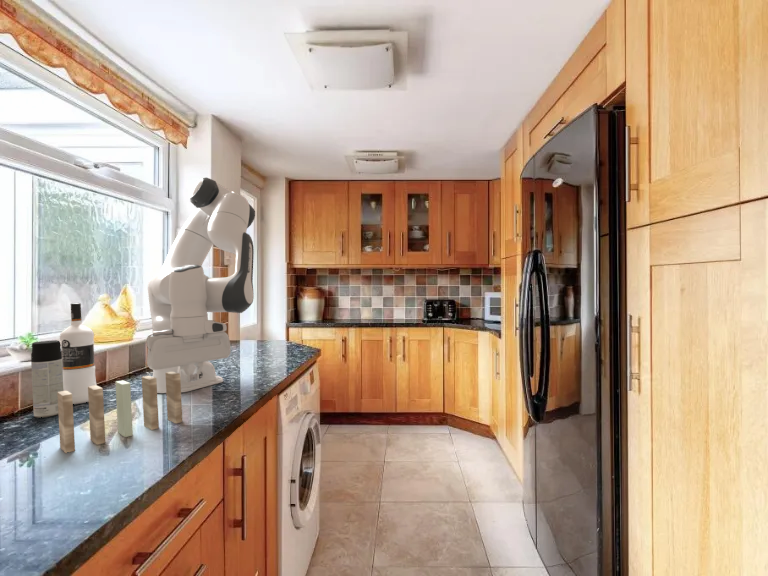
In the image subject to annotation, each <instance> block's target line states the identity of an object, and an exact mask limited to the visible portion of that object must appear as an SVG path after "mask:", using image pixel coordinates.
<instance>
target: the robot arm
mask: <svg viewBox="0 0 768 576" xmlns="http://www.w3.org/2000/svg"><path fill="white" fill-rule="evenodd" d="M188 197H189V202H190V203H191V204H192V205H193V206H194V207H195V208H196V209H195V210H194V211H193V212H192V213H191V214H190V215H189V217H188V218H187V220H186V221H185V222H184V224H183V226H182V227H181V229H180V231H179V232H178V234H177V236H176V237H175V240H174V241H173V243H172V244H171V247H170V248H169V251H168V254H167V256H166V259H165V260H164V263H163V265H162V266H161V269H160V270H159V273H156V274H155V275H153V276H152V277H151V278H150V279H149V281H148V284H147V293H148V301H149V302H148V303H149V304H148V305H149V311H150V317H151V324H152V326H151V328H152V330H151V331H152V333H150V334H149V335H147V337H146V347H147V356H146V358H147V359H146V365H147V367H148V368H149V369H150V370H152V377H154V378H156V380H157V394H166V374H165V373H166V372H175V373H179V374H180V380H181V393H187V392H191V391H194V390H198V389H201V388H205V387H210V386H213V385H217V384H221V383H223V382H224V378H223V377H222V376H219V375H217V373H216V369H215V366H214V364H213V363H211V362H210V361H215V360H223V359H227V358H229V356H230V355H231V351H232V350H231V342H230V336H229V334H228V333H227V323H224V322H219V321H215V320H210V319H209V318H208V313H234V314H235V313H237V314H242V313H244V312H245V311H246V310H247V309H249V308H250V307H251V305H252V304H253V302H254V299H255V298H254V297H255V296H254V295H255V294H254V284H253V276H254V255H255V253H254V252H255V251H254V243H253V242H254V241H253V238H252V237H251V235H250V234H249V233H247V229H249V228H250V226H251V225H252V224H253V222H254V220H255V218H256V211H255V208H253V206H252V205H251V204H250V203H249V202H248V200H247V198H246V197H245V196H243V195H242V194H241V193H240V194H239V193H237V192H234V191H232V190H230V189H228V188H226V187H225V186H223V185H221V184H219V183H217V182H216V180H214V179H213V178H209V177H201V178H199V179H198V180H196V182H194V184H193V185H192V186H191V188H190V192H189V196H188ZM213 245H214V246H215V247H216V248H218V249H219V250H221V251H223V252H226V253H230V254H233V255H235V264H234V273H233V274H232V275H230V276H227V277H225V276H224V277H209V276H208V275H206V274H205V271H204V268H203V264H204V262H205V259H206V258H207V256H208V254H209V252H210V250H211V248H212V246H213Z"/></svg>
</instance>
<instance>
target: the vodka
mask: <svg viewBox="0 0 768 576" xmlns="http://www.w3.org/2000/svg"><path fill="white" fill-rule="evenodd" d="M70 317H71V319H70V321H71V322H70V324H71V325H69V326H68V327H66V328H65V329H64V330H62V331H61V332H60V335H59V339H60V340H59V342H60V345H61V346H60V347H61V351H62V368H63V390H64V391H66V390H67V391H68V392H70V393H71V394H72V400H73V404H74V405H79V404H80V405H81V404H87V403H89V399H88V386H94V385H97V380H96V379H97V378H96V364H95V347H94V344H95V339H94V338H95V337H94V336H95V335H94V334H95V332H94V331H93V329H92V328H90V327H88V326H87V325H84V324H83V322H82V304H81V303H80V302H72V303H70ZM86 402H87V403H86Z"/></svg>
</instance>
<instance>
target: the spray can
mask: <svg viewBox="0 0 768 576" xmlns="http://www.w3.org/2000/svg"><path fill="white" fill-rule="evenodd" d="M30 358H31V359H30V361H31V382H32V383H31V386H32V404H33V405H32V406H33V410H32V411H33V416H34V418H41V417H42V418H48V417H53V416H57V415H58V396H57V392H61V391H64V390H63V368H62V351H61V341H60V340H56V339H55V340H53V339H52V340H41V341H36V342H35V341H34V342H32V343H31V354H30Z"/></svg>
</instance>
